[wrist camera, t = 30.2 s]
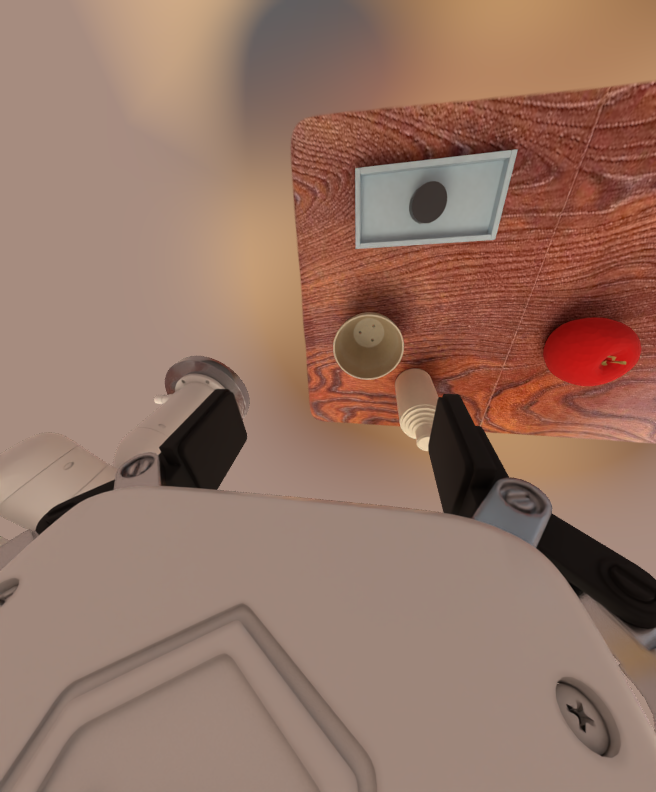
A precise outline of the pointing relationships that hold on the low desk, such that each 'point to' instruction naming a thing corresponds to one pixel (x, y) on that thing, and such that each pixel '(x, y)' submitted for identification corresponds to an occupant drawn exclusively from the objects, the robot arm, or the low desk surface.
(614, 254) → the low desk surface
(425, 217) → the cap
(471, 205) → the tray
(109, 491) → the robot arm
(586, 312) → the low desk surface
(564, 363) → the fruit
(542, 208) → the low desk surface
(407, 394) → the bottle
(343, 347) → the flower pot
